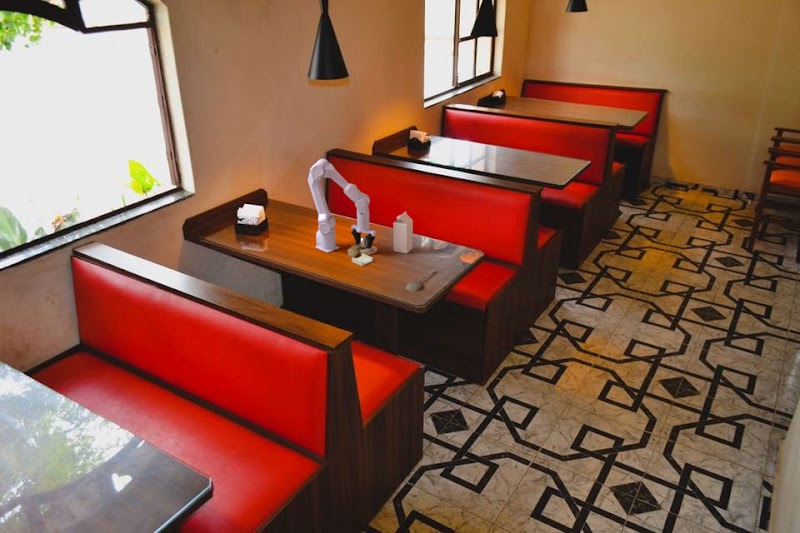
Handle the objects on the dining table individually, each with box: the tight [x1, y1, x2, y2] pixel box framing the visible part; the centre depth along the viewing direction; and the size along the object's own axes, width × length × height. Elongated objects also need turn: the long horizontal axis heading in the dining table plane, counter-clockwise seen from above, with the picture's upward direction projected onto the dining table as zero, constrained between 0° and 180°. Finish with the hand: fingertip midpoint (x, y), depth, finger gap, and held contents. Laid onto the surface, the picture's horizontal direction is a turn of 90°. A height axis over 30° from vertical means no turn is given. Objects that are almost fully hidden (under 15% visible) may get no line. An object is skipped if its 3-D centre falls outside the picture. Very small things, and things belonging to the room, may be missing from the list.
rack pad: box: [351, 254, 374, 267], centre depth 296 cm, size 7×7×2 cm
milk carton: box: [392, 211, 414, 254], centre depth 304 cm, size 7×7×19 cm
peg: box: [360, 236, 367, 250], centre depth 306 cm, size 3×3×7 cm
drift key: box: [347, 247, 362, 258], centre depth 303 cm, size 4×6×3 cm, turn 136°
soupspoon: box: [405, 269, 438, 292], centre depth 277 cm, size 22×3×7 cm
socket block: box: [350, 242, 378, 256], centre depth 307 cm, size 10×8×2 cm
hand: (363, 246), depth 306 cm, fingers open, 7 cm apart
